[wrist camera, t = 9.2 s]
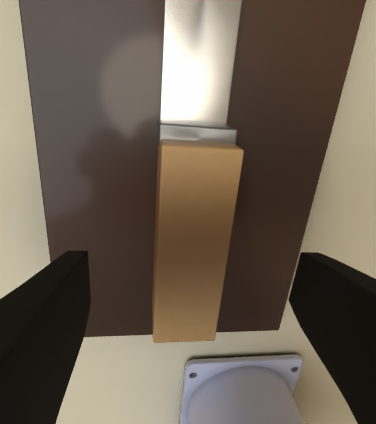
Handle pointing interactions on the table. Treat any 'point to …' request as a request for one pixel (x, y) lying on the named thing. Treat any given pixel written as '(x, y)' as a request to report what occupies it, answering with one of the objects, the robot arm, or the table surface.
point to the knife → (194, 168)
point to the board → (148, 144)
